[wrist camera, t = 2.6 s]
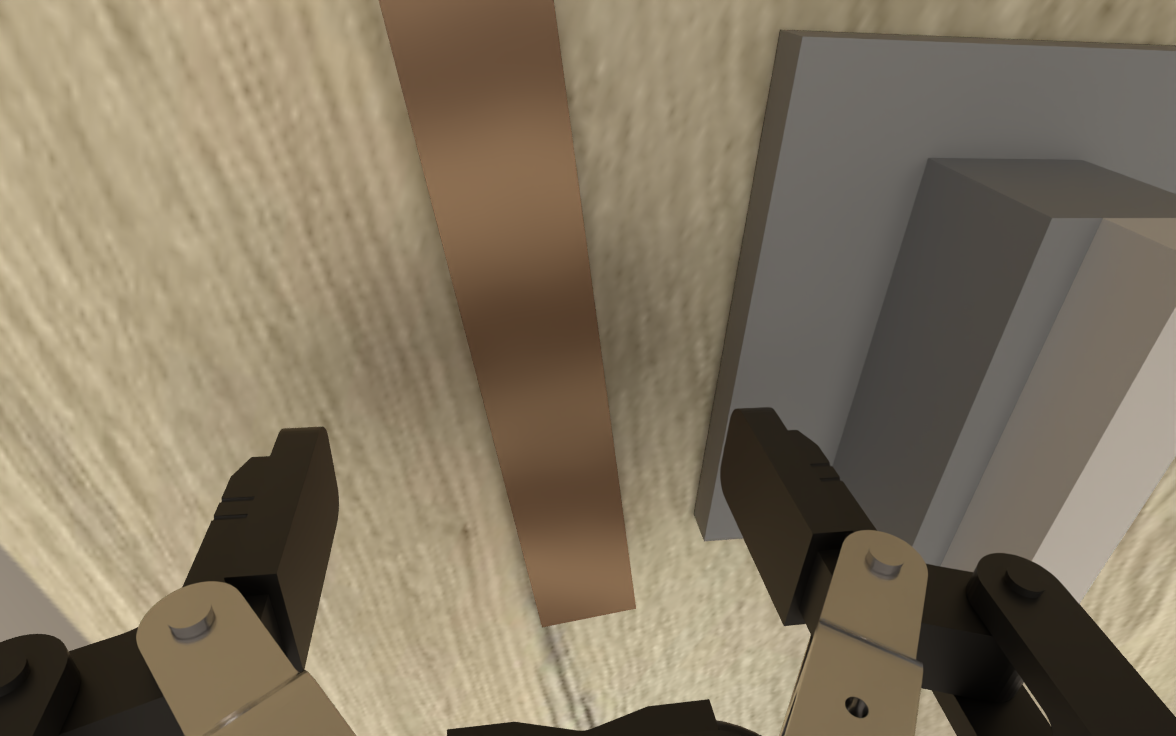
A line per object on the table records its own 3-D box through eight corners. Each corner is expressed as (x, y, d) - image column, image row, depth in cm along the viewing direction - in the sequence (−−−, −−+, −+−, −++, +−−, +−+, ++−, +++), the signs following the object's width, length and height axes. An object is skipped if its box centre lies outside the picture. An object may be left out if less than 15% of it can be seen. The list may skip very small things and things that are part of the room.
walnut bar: (329, -283, 14) (290, -341, 11) (498, -304, 14) (503, -368, 11) (535, 554, 29) (542, 627, 26) (619, 537, 29) (636, 608, 26)
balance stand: (1220, 47, 20) (1652, 111, 13) (999, 493, 30) (1175, 679, 22) (780, 29, 18) (990, 92, 11) (693, 514, 28) (774, 725, 20)
